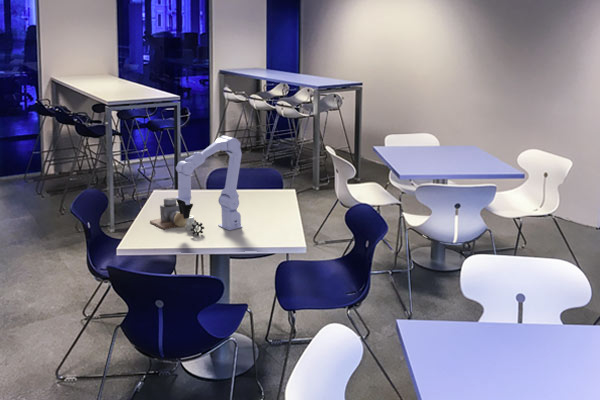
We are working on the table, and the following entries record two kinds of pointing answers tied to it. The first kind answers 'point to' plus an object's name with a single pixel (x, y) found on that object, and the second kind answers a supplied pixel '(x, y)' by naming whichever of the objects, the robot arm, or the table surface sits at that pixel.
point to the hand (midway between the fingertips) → (184, 216)
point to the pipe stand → (170, 215)
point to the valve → (193, 226)
